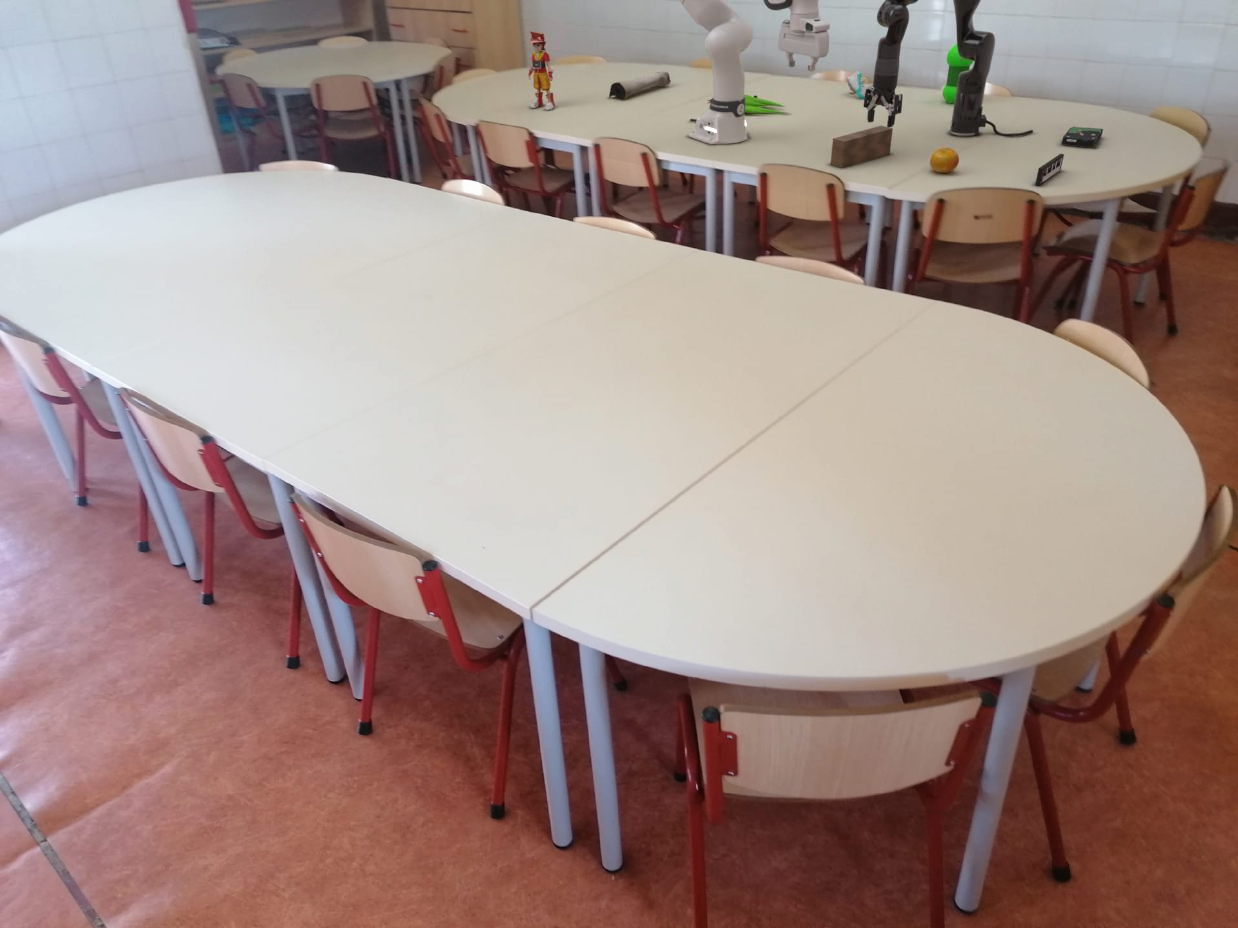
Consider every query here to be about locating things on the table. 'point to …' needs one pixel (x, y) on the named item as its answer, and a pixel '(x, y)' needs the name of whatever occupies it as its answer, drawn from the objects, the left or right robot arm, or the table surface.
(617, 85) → the rolled mat
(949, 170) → the fruit
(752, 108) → the toy
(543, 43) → the toy
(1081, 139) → the disk drive
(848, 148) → the bar
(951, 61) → the green tall rounded piece
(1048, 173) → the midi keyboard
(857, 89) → the anatomical model
